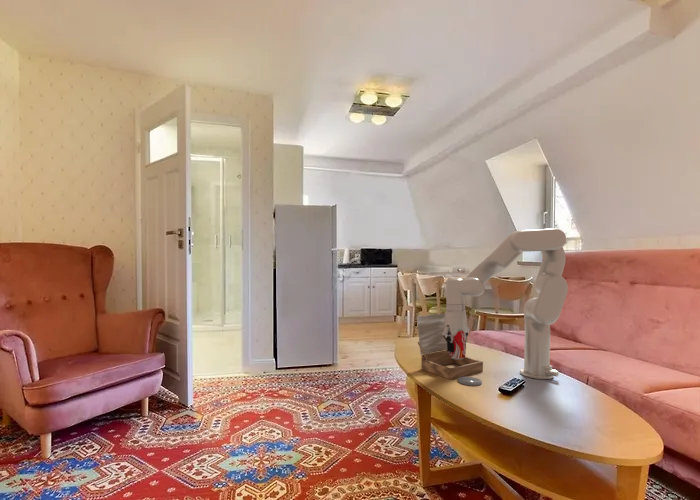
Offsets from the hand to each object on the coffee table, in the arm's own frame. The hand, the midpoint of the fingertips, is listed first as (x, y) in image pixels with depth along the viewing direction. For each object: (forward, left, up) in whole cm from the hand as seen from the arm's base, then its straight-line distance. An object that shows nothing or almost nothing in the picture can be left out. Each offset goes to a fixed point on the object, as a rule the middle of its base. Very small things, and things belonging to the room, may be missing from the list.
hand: (456, 349), depth 171 cm
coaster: (-12, +7, -9) cm, 17 cm away
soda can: (0, 0, -4) cm, 4 cm away
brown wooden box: (+3, +1, -9) cm, 10 cm away
